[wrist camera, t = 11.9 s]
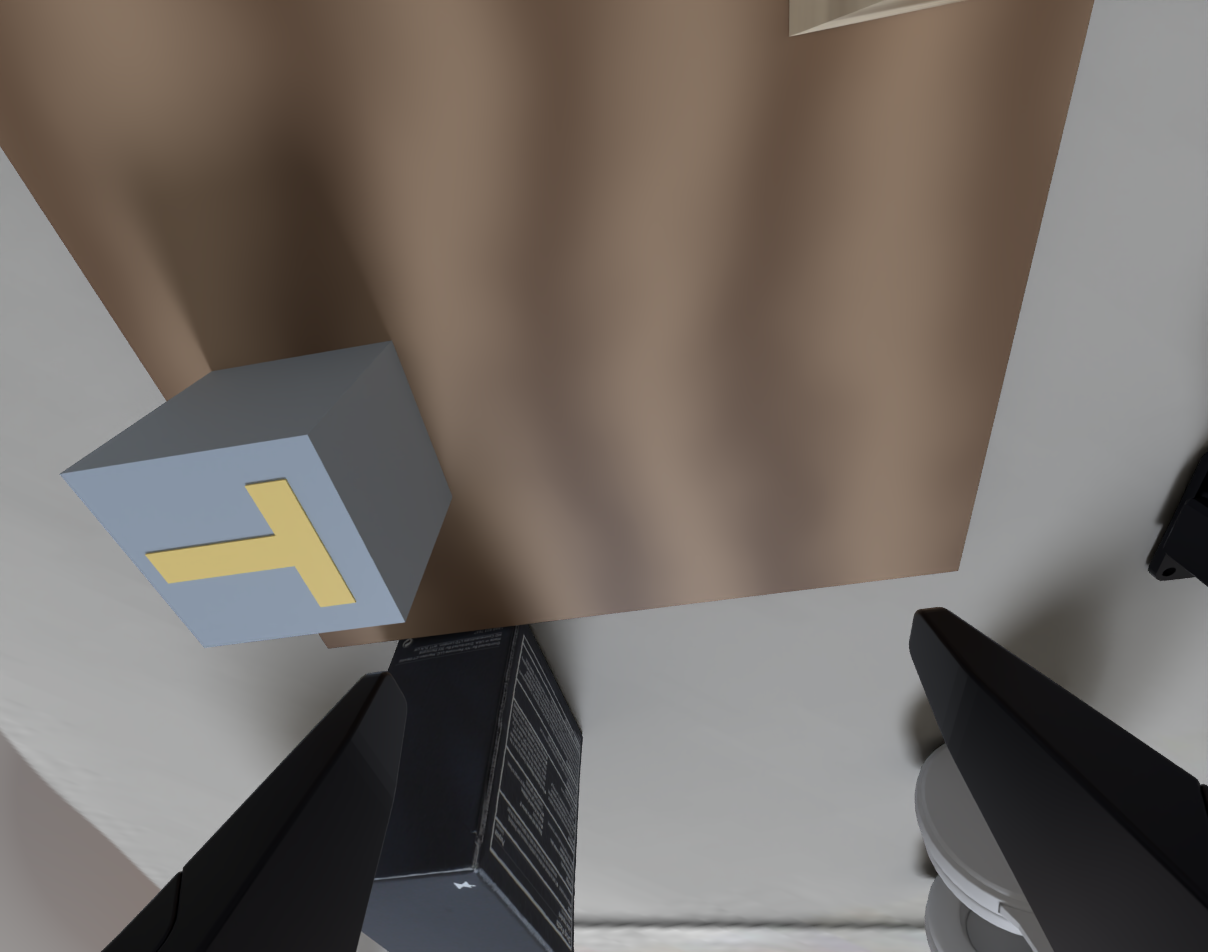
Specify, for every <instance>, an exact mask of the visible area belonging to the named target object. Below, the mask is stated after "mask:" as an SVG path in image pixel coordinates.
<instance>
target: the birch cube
mask: <svg viewBox="0 0 1208 952" xmlns="http://www.w3.org/2000/svg"><path fill="white" fill-rule="evenodd" d="M961 1H966V0H789V37H790V36H795V35H800V34H805V33H810V32H815V31H820V30H824V29H829V28H834V27H839V26H844V25H849V24H854V23H859V22H863V21H868V20H873V19H878V18H883V17H888V16H893V15H898V14H902V13H907V12H912V11H917V10H922V9H927V8H932V7H937V6H941V5H946V4H951V3H956V2H961Z"/></svg>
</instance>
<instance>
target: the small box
mask: <svg viewBox="0 0 1208 952" xmlns="http://www.w3.org/2000/svg"><path fill="white" fill-rule="evenodd" d="M387 672H389V673H390V674H391V675H392V676H393V678H394V679H395V681H396V683H397V685H398V686H399V688H400V690H401V691H402V693H403V695H404V697H405V699H406V702H407V716H406V723H405V730H404V737H403V744H402V751H401V757H400V764H399V771H398V778H397V785H396V791H395V796H394V802H393V806H392V810H391V815H390V819H389V823H388V827H387V831H386V835H385V839H384V843H383V847H382V851H381V855H380V859H379V863H378V867H377V871H376V875H375V879H374V883H373V887H372V891H371V895H370V899H369V903H368V907H367V911H366V915H365V919H364V923H363V927H362V930H361V931H362V932H363V933H364V934H365V935H367V936H368V937H369V938H371V939H372V940H373V941H375V942H376V943H378V944H379V945H380V946H382V947H383V948H384V949H386V950H387V951H388V952H574V895H575V888H574V885H575V867H576V846H577V822H578V801H579V782H580V766H581V753H582V741H583V736H582V734H581V732H580V730H579V728H578V726H577V724H576V721H575V719H574V718H573V715H572V713H571V711H570V709H569V707H568V705H567V703H566V701H565V699H564V697H563V695H562V693H561V691H560V688H559V687H558V685H557V683H556V681H555V678H554V676H553V674H552V672H551V670H550V668H549V666H548V664H547V662H546V660H545V658H544V656H543V654H542V652H541V650H540V648H539V645H538V643H537V642H536V639H535V637H534V636H533V634H532V631H531V630H530V628H529V626H528V624H523V625H515V626H507V627H499V628H491V629H483V630H475V631H467V632H458V633H450V634H442V635H434V636H426V637H418V638H410V639H402V640H399V642H398V645H397V648H396V650H395V653H394V656H393V658H392V661H391V664H390V666H389V669H388V671H387Z"/></svg>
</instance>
